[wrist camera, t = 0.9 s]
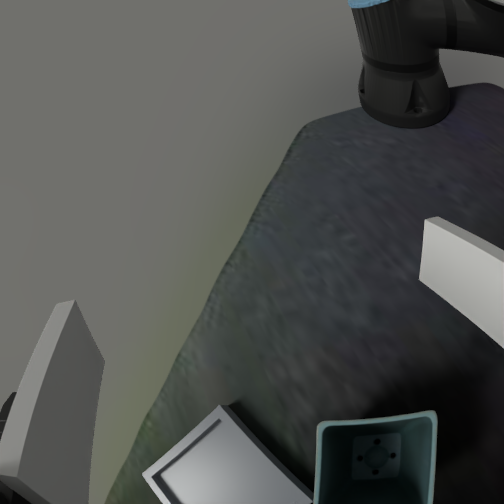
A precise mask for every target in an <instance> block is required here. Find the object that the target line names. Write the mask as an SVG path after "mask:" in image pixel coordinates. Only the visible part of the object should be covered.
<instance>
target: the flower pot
mask: <svg viewBox="0 0 504 504" xmlns="http://www.w3.org/2000/svg"><path fill="white" fill-rule="evenodd" d="M437 424H438V420H437V414H436V412H435V411H432V410H429V411H423V412H418V413H412V414H405V415H398V416H390V417H381V418H371V419H358V420H340V421H339V420H338V421H336V420H333V421H323V422H320V423H319V424H318V426H317V447H316V472H315V488H314V500H313V504H432V503H433V493H434V481H435V466H436V445H437ZM376 439H379V440H380V443H379V444H376V443H375V440H376ZM392 453H395V454H396V456H395V457H394V458H392V457H391V456H390V455H391V454H392ZM359 456H362V457H363V459H362V460H361V461H360V460H358V457H359ZM376 469H377V470H378V471H379V472H378V474H374V473H373V471H374V470H376Z"/></svg>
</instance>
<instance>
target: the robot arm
mask: <svg viewBox="0 0 504 504" xmlns="http://www.w3.org/2000/svg"><path fill="white" fill-rule="evenodd" d="M348 4H349V6H350V7H351V8H352V12H353V16H354V20H355V24H356V28H357V32H358V37H359V42H360V47H361V51H362V56H363V64H362V69H361V75H360V80H359V85H358V92H359V98H360V103H361V105H362V107H363V109H364V110H365V111H366V112H367V113H368V114H369V115H370V116H371V117H373V118H374V119H376V120H378V121H380V122H382V123H385V124H388V125H391V126H395V127H402V128H421V127H427V126H430V125H433V124H436V123H438V122H439V121H441V120H442V119H443V118H444V117H445V116H446V115H447V113H448V111H449V108H450V91H449V88H448V85H447V82H446V79H445V76H444V73H443V71H442V68H441V65H440V63H439V49H452V50H461V51H469V52H476V53H483V54H489V55H494V56H499V57H503V58H504V0H348ZM419 280H420V281H421V282H423V283H424V284H425V285H427V286H428V287H429V288H431V289H432V290H433V291H435V292H436V293H437V294H438V295H440V296H441V297H442V298H444V299H445V300H446V301H447V302H449V303H450V304H451V305H452V306H454V307H455V308H456V309H457V310H459V311H460V312H461V313H462V314H464V315H465V316H466V317H467V318H468V319H470V320H471V321H472V322H473V323H475V324H476V325H477V326H478V327H479V328H481V329H482V330H483V331H484V332H485V333H486V334H488V335H489V336H490V337H491V338H492V339H494V340H495V341H496V342H497V343H498V344H499V345H500V346H502V347H503V348H504V251H503V250H502V249H500V248H498V247H496V246H494V245H493V244H491V243H489V242H487V241H485V240H483V239H481V238H479V237H478V236H476V235H474V234H472V233H470V232H468V231H466V230H464V229H462V228H460V227H458V226H456V225H454V224H452V223H450V222H448V221H446V220H444V219H442V218H440V217H434V218H429V219H425V225H424V238H423V249H422V259H421V267H420V276H419ZM104 364H105V360H104V358H103V357H102V355H101V353H100V351H99V349H98V347H97V345H96V343H95V341H94V339H93V337H92V335H91V333H90V331H89V329H88V327H87V325H86V323H85V320H84V318H83V316H82V314H81V312H80V309H79V307H78V305H77V302H76V300H72V301H67V302H62V303H57V304H56V306H55V308H54V310H53V312H52V314H51V316H50V318H49V320H48V322H47V324H46V326H45V328H44V330H43V332H42V334H41V337H40V339H39V341H38V343H37V345H36V347H35V350H34V352H33V354H32V357H31V359H30V361H29V364H28V366H27V368H26V371H25V373H24V376H23V378H22V381H21V383H20V385H19V388H18V391H17V392H13V393H12V394H11V395H10V397H9V398H8V399H7V401H6V402H5V403H4V405H3V407H2V409H1V412H0V504H88V500H89V481H90V466H91V455H92V445H93V436H94V427H95V419H96V412H97V405H98V399H99V392H100V386H101V380H102V374H103V369H104Z"/></svg>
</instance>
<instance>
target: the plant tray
mask: <svg viewBox="0 0 504 504" xmlns="http://www.w3.org/2000/svg"><path fill="white" fill-rule="evenodd" d="M142 475H143V477H144V478H145V480H146V481H147V482H148V484H149V485H150V487H151V488H152V489H153V491H154V492H155V494H156V495H157V496H158V498H159V499H160V500H161V502H162V503H163V504H310V503H312V502H313V500H314V493H313V492H312V491H311V490H309V489H308V488H307V487H306V486H305V485H304V484H303V483H302V482H301V481H300V480H299V479H298V478H297V477H296V476H295V475H293V474H292V473H291V472H290V471H289V470H288V469H287V468H286V467H285V466H284V465H283V464H282V463H281V462H280V461H279V460H278V459H277V458H276V457H275V456H274V455H273V454H272V453H271V452H270V451H269V450H268V449H267V448H266V447H265V446H264V445H263V444H262V442H261V441H260V440H259V439H258V438H257V437H256V436H255V435H254V434H253V433H252V432H251V431H250V430H249V429H248V428H247V426H246V425H245V424H244V423H243V422H242V421H241V420H240V419H239V418H238V417H237V415H236V414H235V413H234V412H233V411H232V410H231V409H230V408H229V406H226V405H219V406H218V407H217V408H216V409H215V410H214V411H213V412H212V413H210V414H209V415H208V416H207V417H206V418H205V419H204V420H203V421H202V422H201V423H200V424H199V425H198V426H196V427H195V428H194V429H193V430H192V431H191V432H190V433H189V434H188V435H187V436H185V437H184V438H183V439H182V440H181V441H180V442H179V443H178V444H176V445H175V446H174V447H173V448H172V449H171V450H170V451H168V452H167V453H166V454H165V455H164V456H163V457H161V458H160V459H159V460H158V461H157V462H156V463H154V464H153V465H152V466H151V467H150V468H148V469H147V470H146V471H145V472H144V473H142Z"/></svg>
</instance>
